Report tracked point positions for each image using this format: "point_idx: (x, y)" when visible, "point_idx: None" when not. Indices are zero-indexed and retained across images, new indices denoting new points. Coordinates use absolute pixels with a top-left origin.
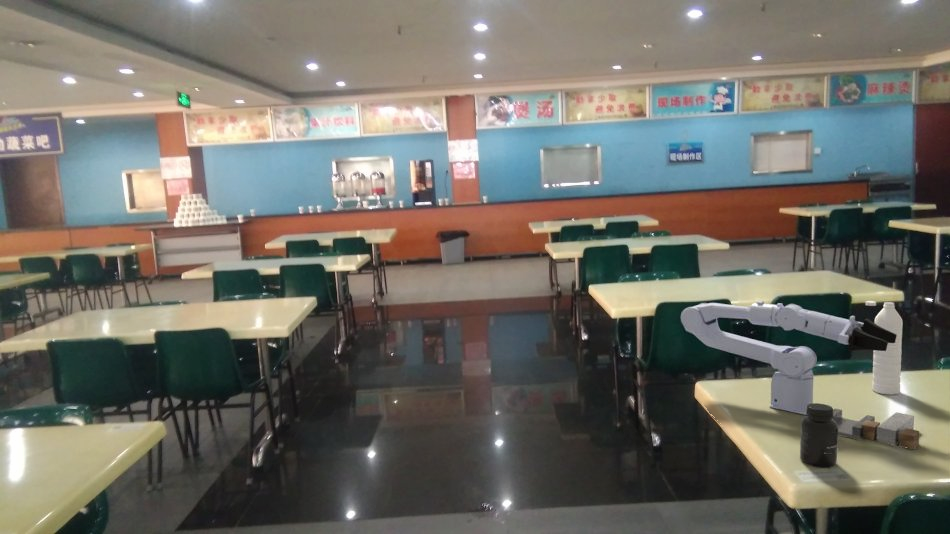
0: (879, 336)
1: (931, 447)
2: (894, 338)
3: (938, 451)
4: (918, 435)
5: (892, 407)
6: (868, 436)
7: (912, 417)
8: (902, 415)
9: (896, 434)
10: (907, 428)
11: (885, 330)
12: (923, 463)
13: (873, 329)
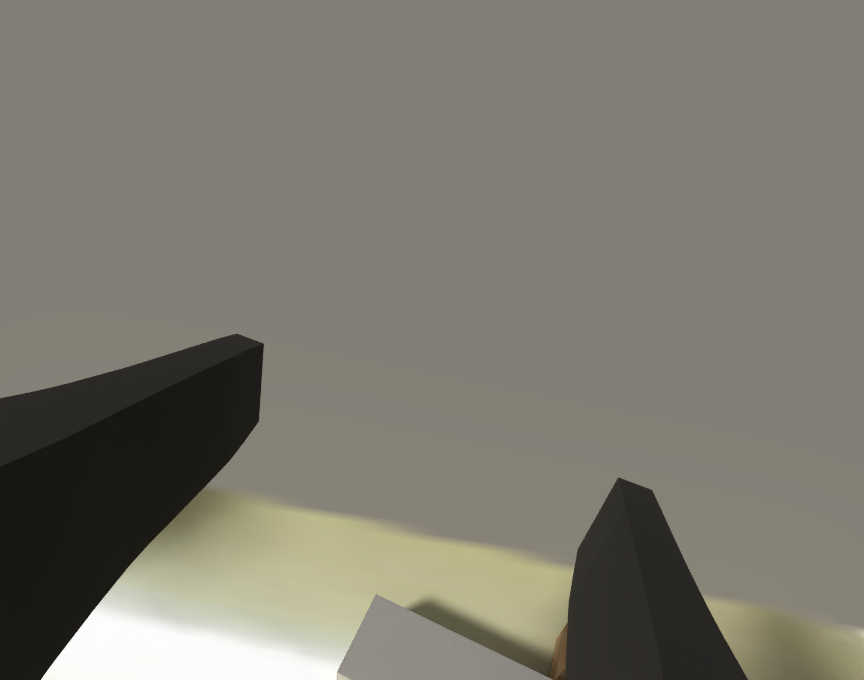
0: (128, 506)
1: (567, 599)
2: (255, 383)
3: None
4: None
5: None
6: None
7: (398, 606)
8: (387, 648)
9: None
10: (564, 660)
11: (173, 383)
12: (764, 665)
13: (22, 521)
